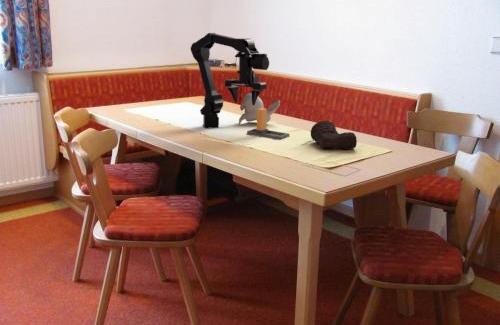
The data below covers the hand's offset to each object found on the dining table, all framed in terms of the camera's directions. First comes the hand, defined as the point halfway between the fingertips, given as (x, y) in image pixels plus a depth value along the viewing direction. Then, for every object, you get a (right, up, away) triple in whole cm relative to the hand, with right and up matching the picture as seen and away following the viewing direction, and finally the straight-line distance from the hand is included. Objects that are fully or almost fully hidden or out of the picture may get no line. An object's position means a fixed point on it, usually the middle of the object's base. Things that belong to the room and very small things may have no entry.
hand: (244, 104), depth 214 cm
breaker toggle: (+7, -13, -1) cm, 15 cm away
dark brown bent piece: (+36, -20, -15) cm, 44 cm away
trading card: (+31, -28, -44) cm, 60 cm away
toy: (+7, -8, +21) cm, 23 cm away
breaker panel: (+10, -15, -3) cm, 18 cm away
